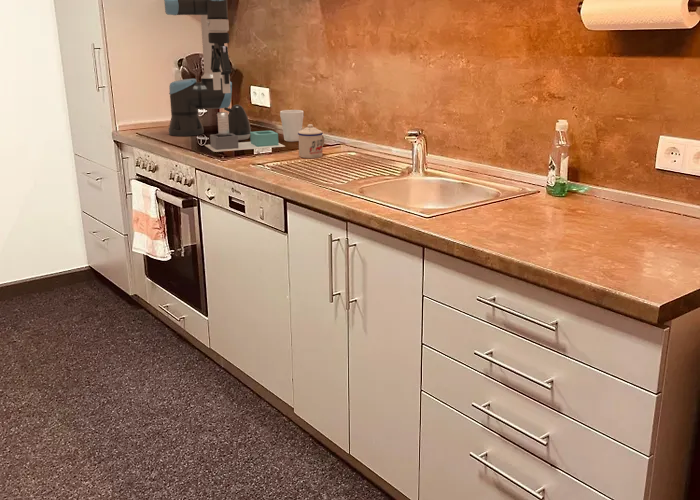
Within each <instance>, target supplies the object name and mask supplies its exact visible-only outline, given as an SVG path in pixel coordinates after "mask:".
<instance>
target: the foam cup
mask: <svg viewBox="0 0 700 500" xmlns="http://www.w3.org/2000/svg"><path fill="white" fill-rule="evenodd" d="M304 113H305V112H304V110H301V109H283V110H280V111H279V116H280V117H279V118H280V120H281V128H282V134H283V139H284V141H286V142H299V135H298V132H299V131H300V130H303V124H304V123H303V122H304Z"/></svg>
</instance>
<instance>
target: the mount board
mask: <svg viewBox="0 0 700 500" xmlns="http://www.w3.org/2000/svg"><path fill="white" fill-rule="evenodd" d="M209 138H210V139H209V140H210V144H204V146H205V147H206V148H208V149H209V150H211V151H212V152H213V153H215V152H216V153H217V152H218V153H219V152H228V151H229V152H230V151H232V152H233V151H243V150H257V149H270V148H281V147H282V148H284V147H286V145H284V144H281V143H280V142H278V144H279V145H273V146H260V147H257V146H255V145H253V144H251V141H241V142H239V140H238V136H236V135H235V134H233V133H229V136H226V137H219V134H218V133H216V134H215V133H214V134H209Z"/></svg>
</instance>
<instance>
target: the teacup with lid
mask: <svg viewBox="0 0 700 500" xmlns="http://www.w3.org/2000/svg"><path fill="white" fill-rule="evenodd" d="M323 134H324V133H323V131H322V130H320V129H318V128H317V127H314V125H313V124H310V123H309V124H307V127H304V128H302V130H300V131H299V132H298V135H299V141H298V156H299V157H300V158H304V159H318V158H321V157H322V156H323V147H324V144H325V136H324V135H323Z"/></svg>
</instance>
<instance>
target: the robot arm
mask: <svg viewBox="0 0 700 500" xmlns="http://www.w3.org/2000/svg"><path fill="white" fill-rule="evenodd" d="M163 2H164V12H165V14H166V15H169V16H200V24H201V25H200V27H201V29H200V31H201V44H202V57H203V59H202V60H203V74H202V75H201V76H200V77H201V78H200V79H201V81H197V79H196V78H184V79H179V80H175V81H172V82H170V83H169V93H168V94H169V101H170V113H171V117H170V122H169V127H168V135H169V136H176V137H193V136H201V135H203V134H204V133H205V131H204V126H203V124H202V121H201V119H200V115H199V110H211V109H212V110H213V109H218V110H220V109H224V108H225V107H226V108H230V106H231V102H232V96H233V94H232V93H233V82H232V81H231V76H230V75H231V73H232V68H231V63H230V56H229V49H228V46H227V45H225V44H229V43H230V33H229V31H230V25H229V24H230V23H229V17H228V16H229V13H228V10H229V9H228V8H229V7H228V0H163Z"/></svg>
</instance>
